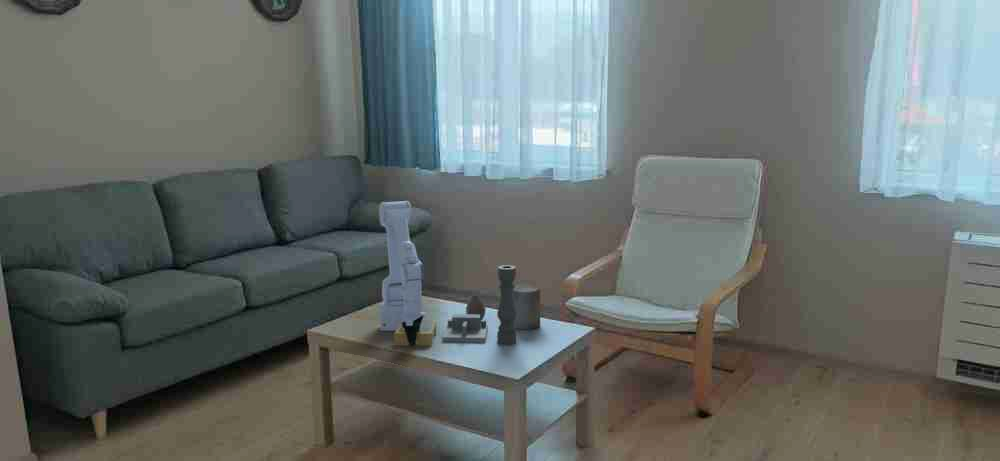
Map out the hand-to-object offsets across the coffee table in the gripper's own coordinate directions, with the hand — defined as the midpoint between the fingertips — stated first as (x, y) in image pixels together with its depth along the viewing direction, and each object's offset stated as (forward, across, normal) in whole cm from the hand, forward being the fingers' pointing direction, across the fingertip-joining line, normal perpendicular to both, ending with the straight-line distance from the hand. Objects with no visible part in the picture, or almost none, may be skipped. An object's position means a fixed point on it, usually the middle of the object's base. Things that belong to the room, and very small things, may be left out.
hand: (413, 340), depth 245 cm
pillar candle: (+2, +21, -36) cm, 42 cm away
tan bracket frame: (+1, +5, 0) cm, 5 cm away
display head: (+1, +10, -16) cm, 19 cm away
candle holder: (+2, +4, -30) cm, 30 cm away
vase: (+2, +27, -18) cm, 32 cm away
